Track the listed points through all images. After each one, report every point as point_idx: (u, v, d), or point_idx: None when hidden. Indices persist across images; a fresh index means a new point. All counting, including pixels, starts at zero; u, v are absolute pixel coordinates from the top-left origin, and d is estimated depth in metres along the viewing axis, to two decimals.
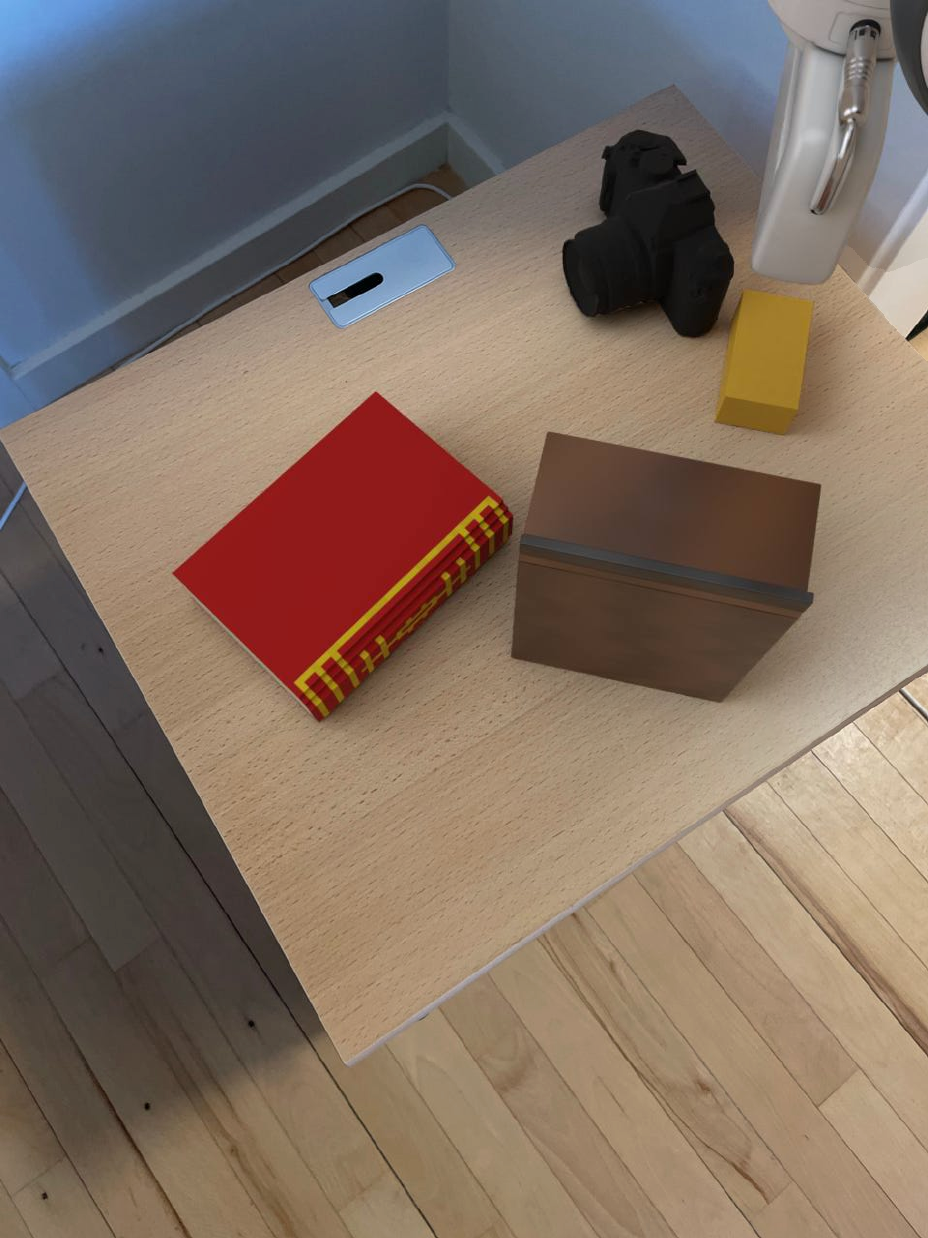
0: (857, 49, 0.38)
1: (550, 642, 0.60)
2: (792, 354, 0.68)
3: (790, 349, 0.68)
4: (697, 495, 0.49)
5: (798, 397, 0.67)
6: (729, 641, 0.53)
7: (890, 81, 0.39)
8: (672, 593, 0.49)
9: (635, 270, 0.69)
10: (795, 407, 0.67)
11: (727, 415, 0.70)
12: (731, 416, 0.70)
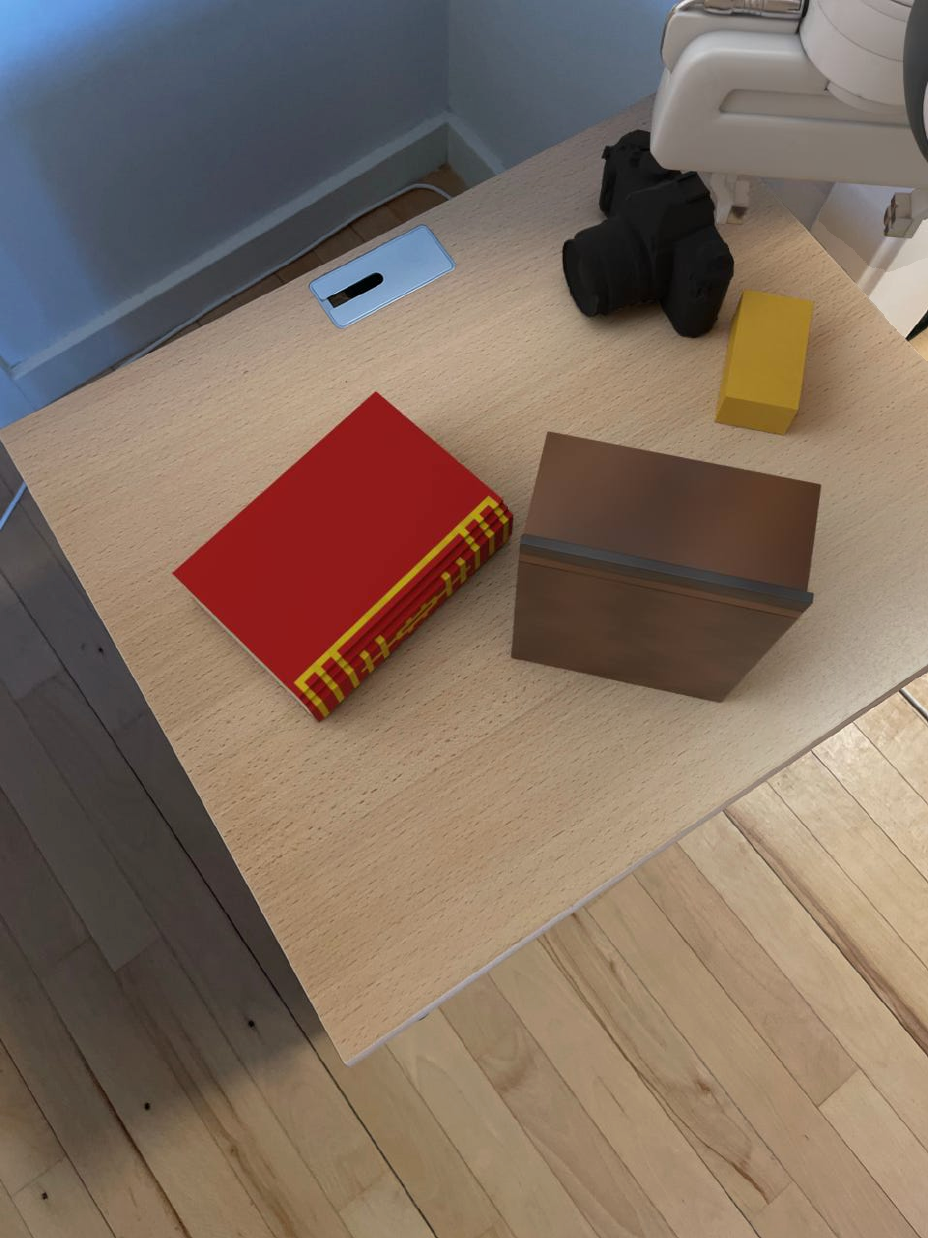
0: None
1: (550, 642, 0.60)
2: (792, 354, 0.68)
3: (790, 349, 0.68)
4: (697, 495, 0.49)
5: (798, 397, 0.67)
6: (729, 641, 0.53)
7: (781, 55, 0.45)
8: (672, 593, 0.49)
9: (635, 270, 0.69)
10: (795, 407, 0.67)
11: (727, 415, 0.70)
12: (731, 416, 0.70)
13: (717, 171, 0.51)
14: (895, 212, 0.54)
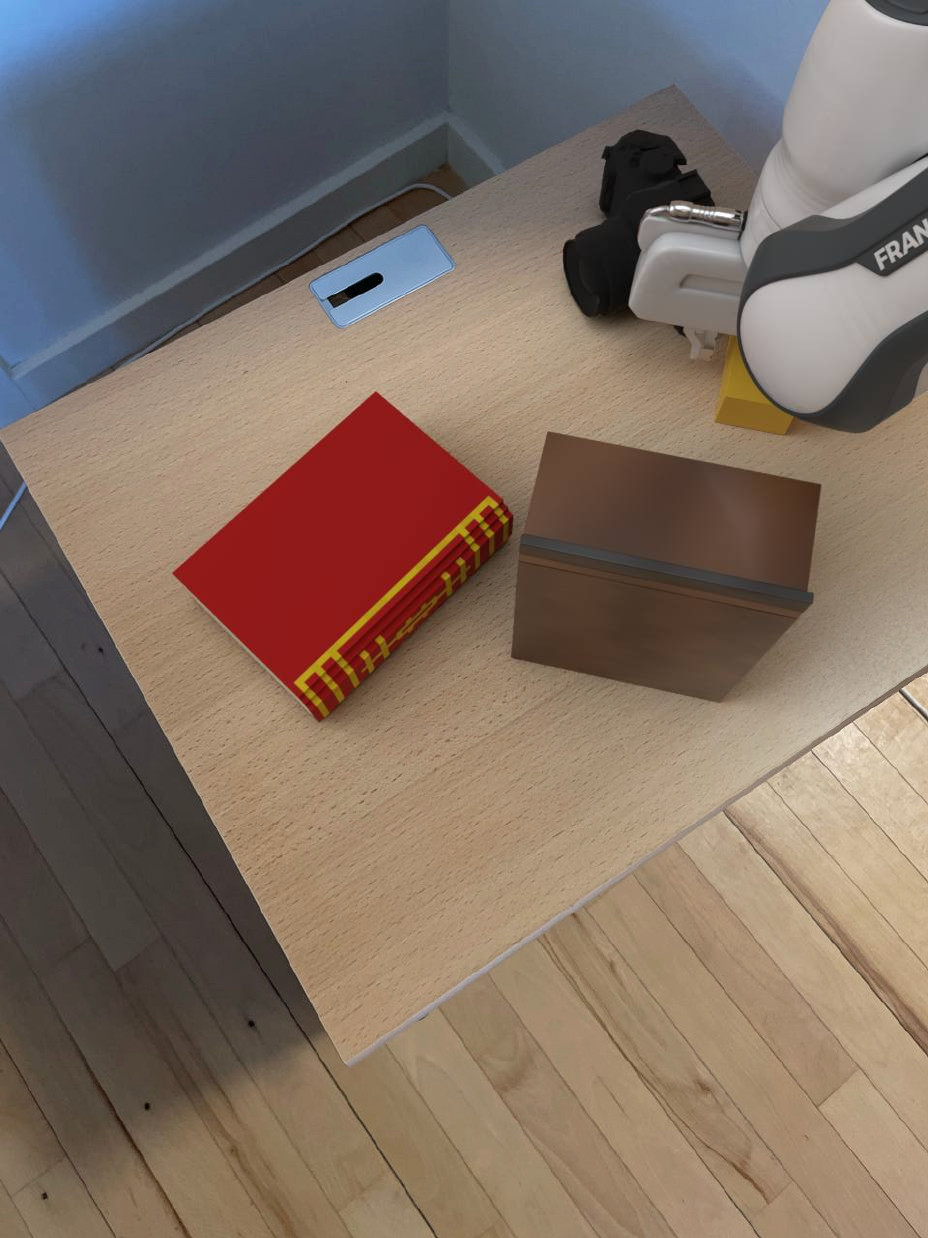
0: (723, 208, 0.58)
1: (550, 642, 0.60)
2: None
3: None
4: (697, 495, 0.49)
5: None
6: (729, 641, 0.53)
7: (724, 256, 0.59)
8: (672, 593, 0.49)
9: None
10: None
11: (727, 415, 0.70)
12: (731, 416, 0.70)
13: (679, 325, 0.65)
14: None
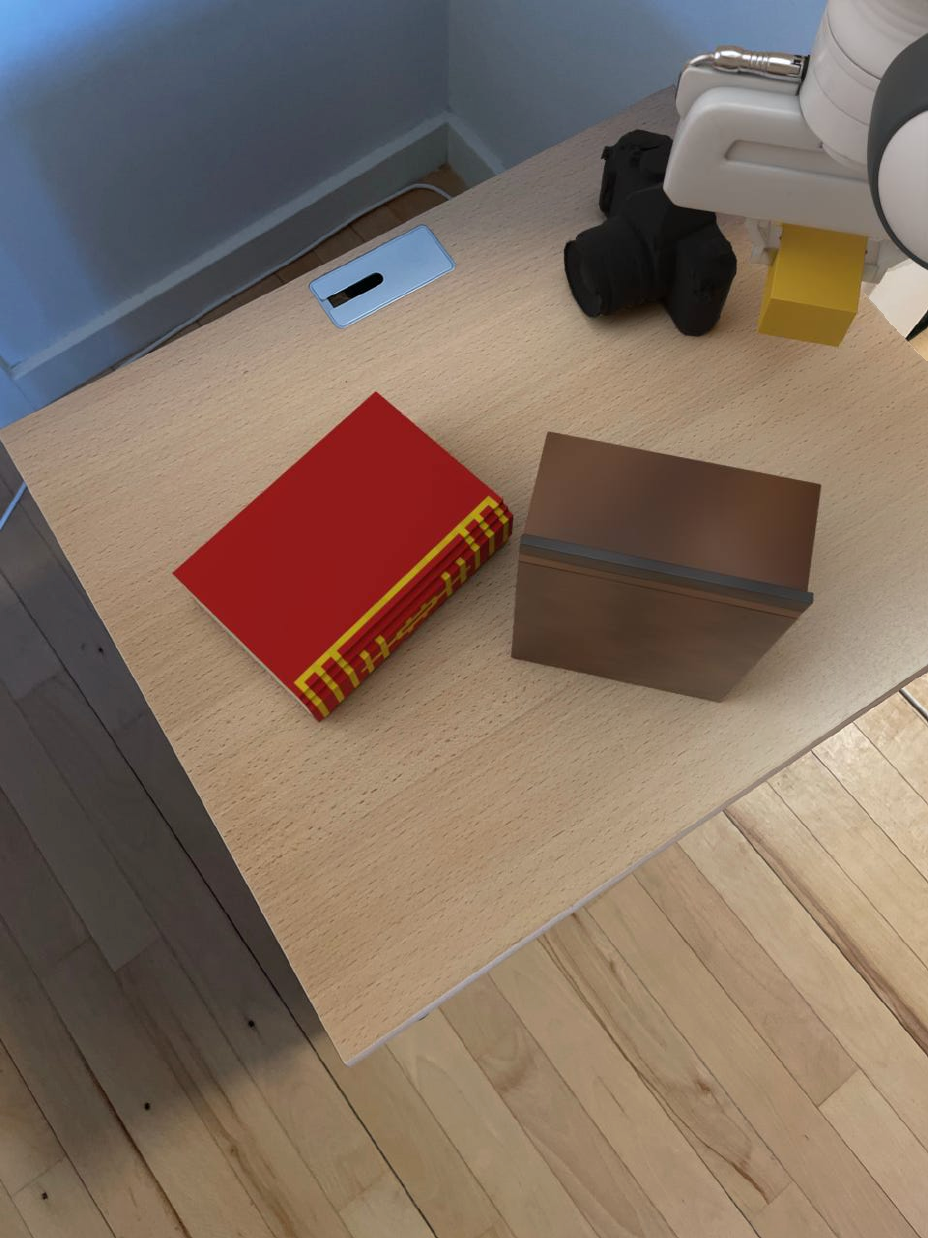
0: (780, 52, 0.48)
1: (550, 642, 0.60)
2: (849, 249, 0.58)
3: (847, 244, 0.59)
4: (697, 495, 0.49)
5: (857, 298, 0.57)
6: (729, 641, 0.53)
7: (780, 113, 0.49)
8: (672, 593, 0.49)
9: (638, 270, 0.69)
10: (853, 309, 0.57)
11: (772, 323, 0.60)
12: (777, 324, 0.60)
13: (723, 211, 0.56)
14: None
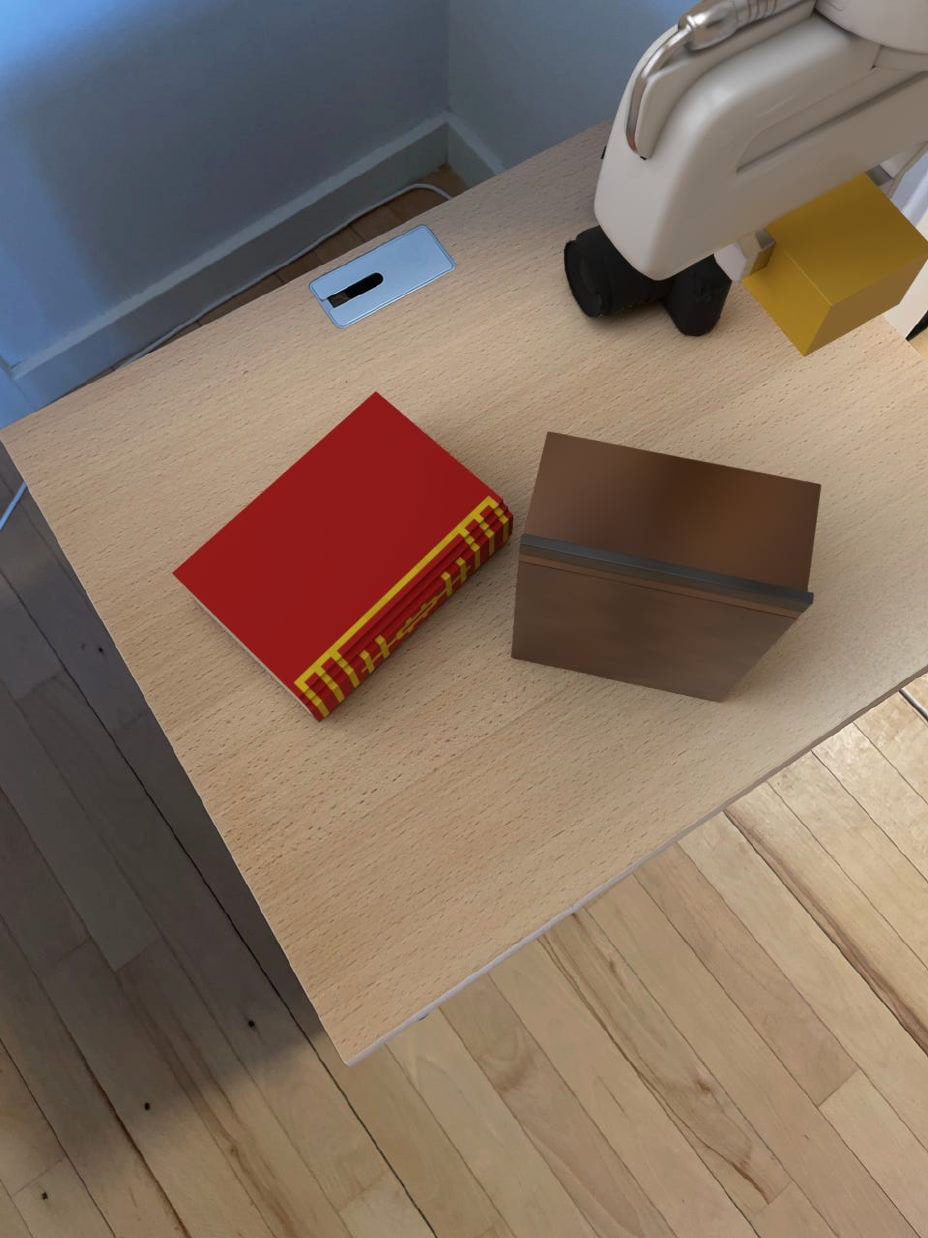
0: None
1: (550, 642, 0.60)
2: (846, 183, 0.39)
3: None
4: (697, 495, 0.49)
5: (917, 232, 0.38)
6: (729, 641, 0.53)
7: (819, 54, 0.28)
8: (672, 593, 0.49)
9: None
10: None
11: (826, 333, 0.40)
12: (832, 331, 0.40)
13: (728, 244, 0.35)
14: None
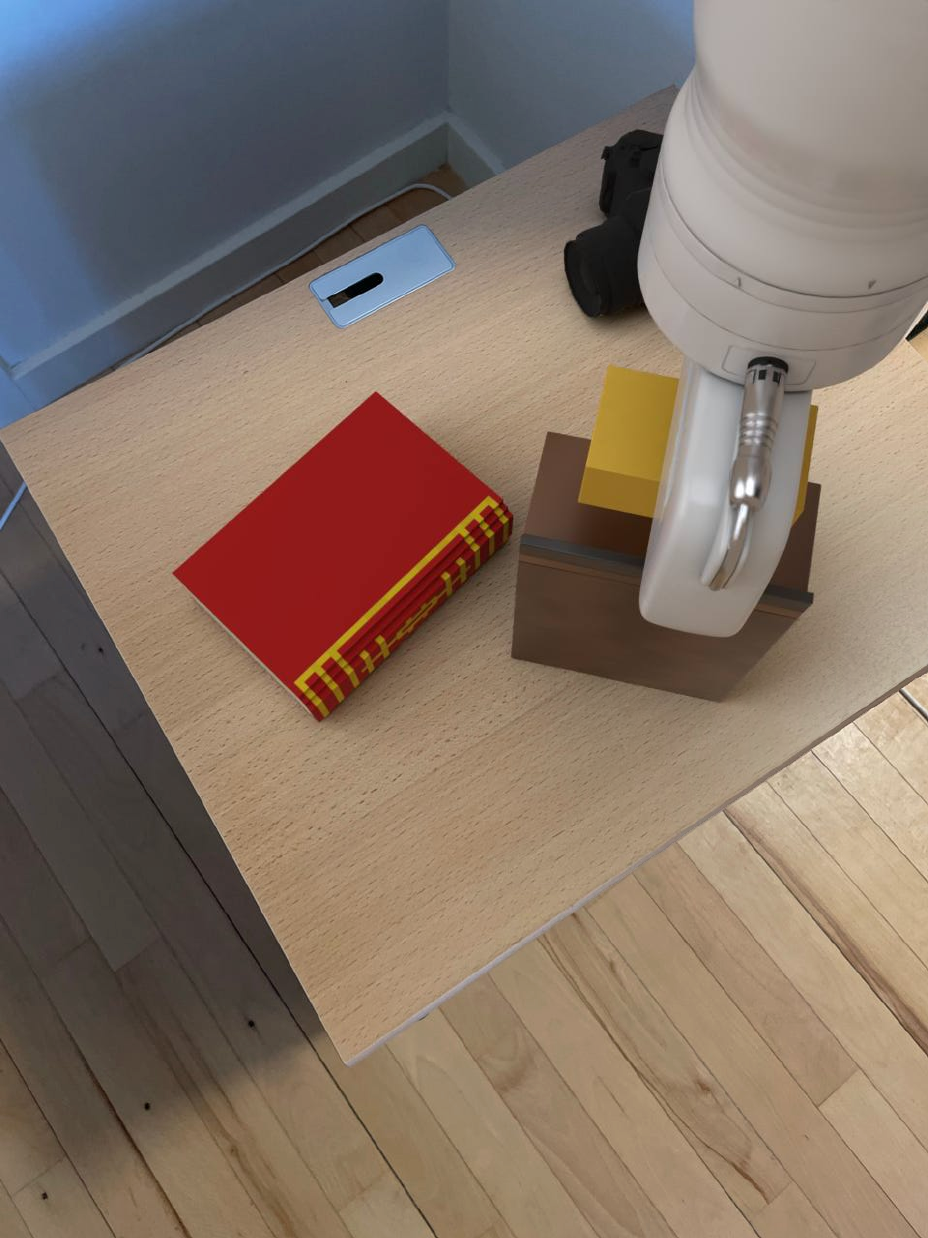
0: (755, 400, 0.28)
1: (550, 642, 0.60)
2: None
3: None
4: None
5: None
6: (729, 641, 0.53)
7: (805, 423, 0.30)
8: None
9: None
10: (815, 409, 0.41)
11: None
12: None
13: None
14: None
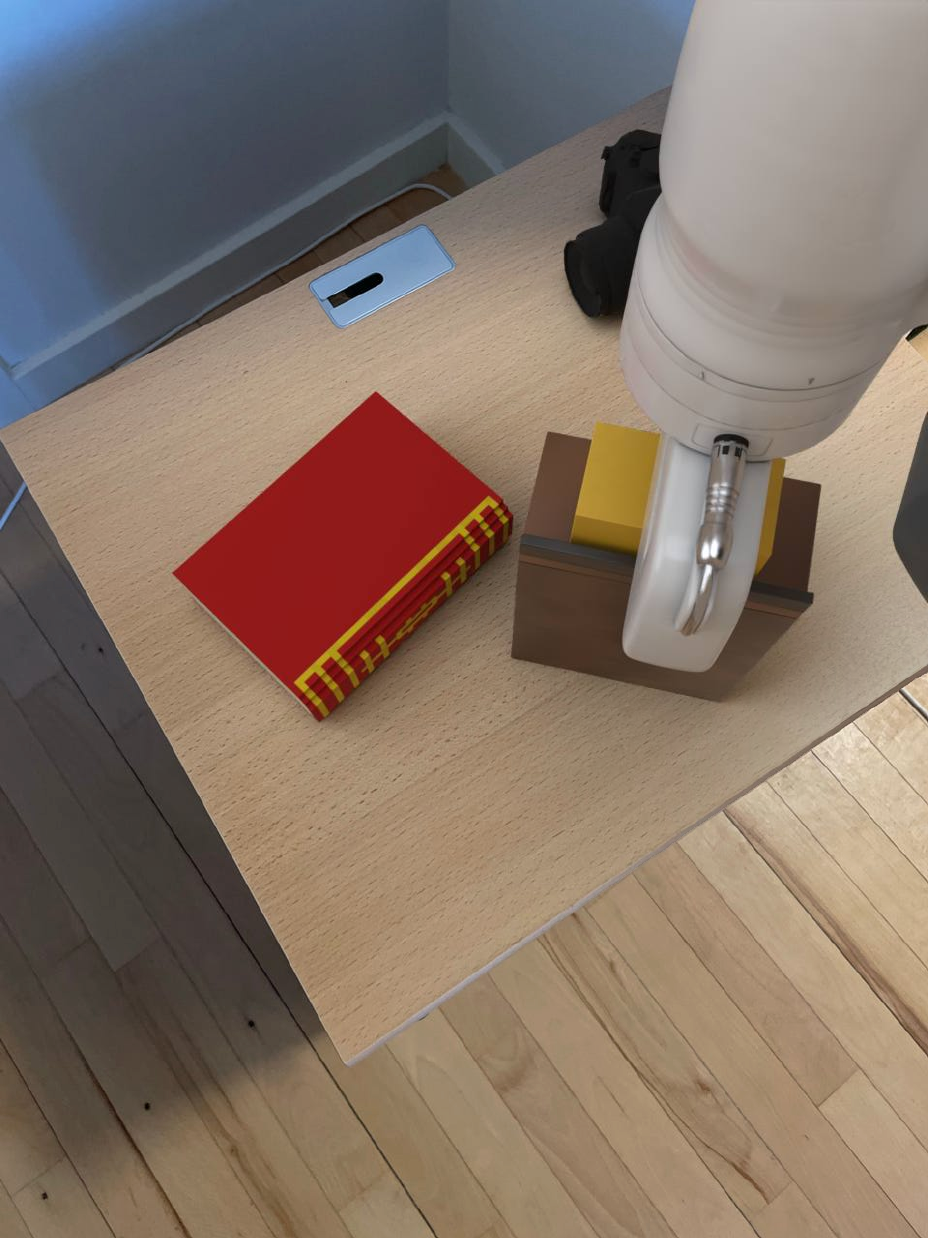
0: (719, 472, 0.32)
1: (550, 642, 0.60)
2: None
3: None
4: None
5: None
6: (729, 641, 0.53)
7: (765, 488, 0.34)
8: None
9: None
10: (783, 462, 0.46)
11: None
12: None
13: None
14: None
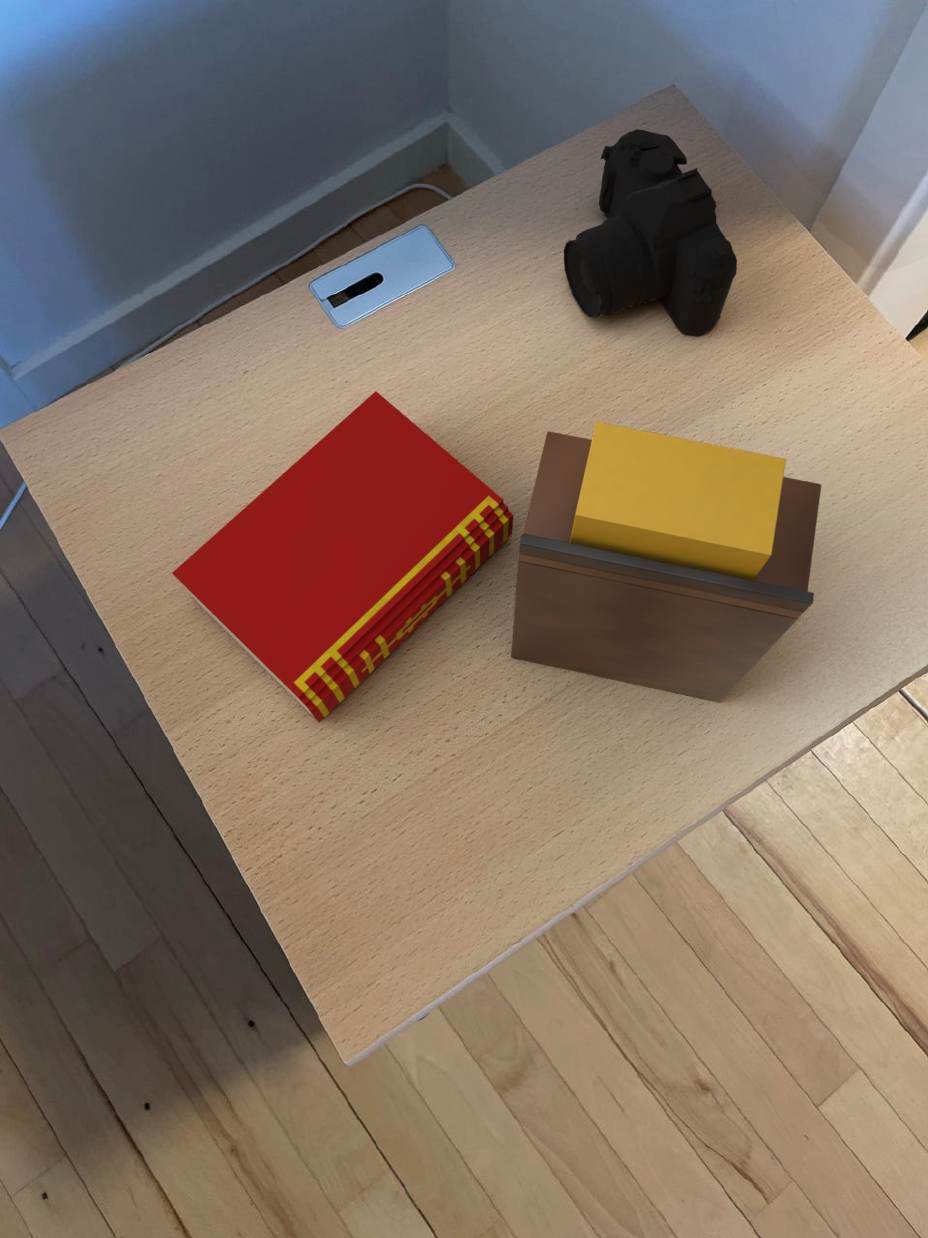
0: None
1: (550, 642, 0.60)
2: (691, 458, 0.46)
3: (683, 459, 0.46)
4: None
5: (765, 456, 0.46)
6: (729, 641, 0.53)
7: None
8: (672, 593, 0.49)
9: (638, 270, 0.69)
10: (783, 462, 0.46)
11: None
12: None
13: None
14: None
